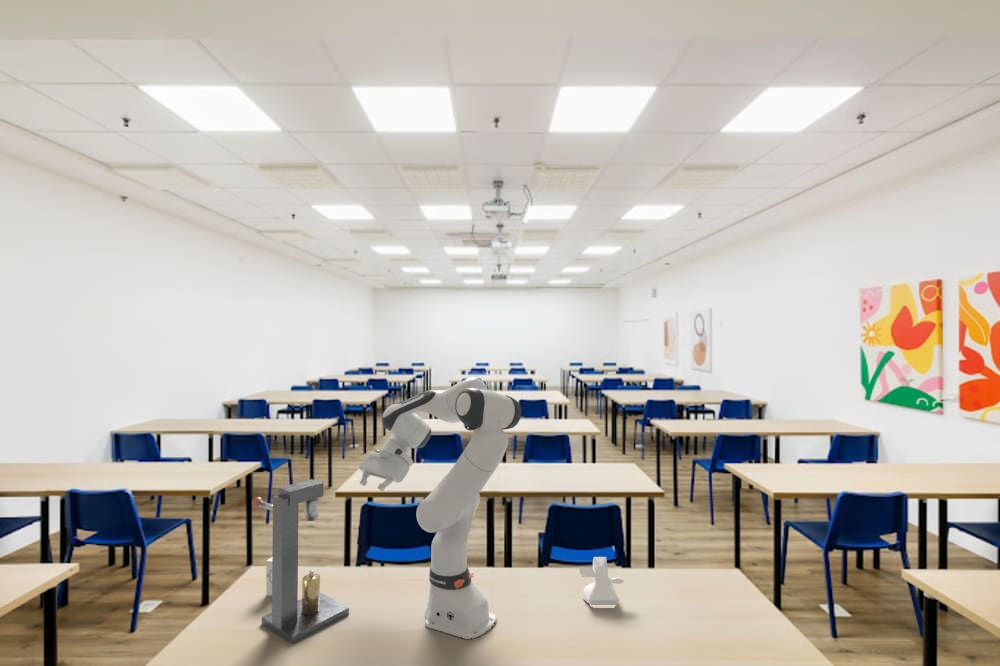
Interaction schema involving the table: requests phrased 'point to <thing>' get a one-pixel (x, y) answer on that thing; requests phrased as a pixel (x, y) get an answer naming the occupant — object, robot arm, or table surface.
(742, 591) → the table surface
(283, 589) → the bench press
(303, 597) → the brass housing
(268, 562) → the ink cartridge box
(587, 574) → the white irregular piece
